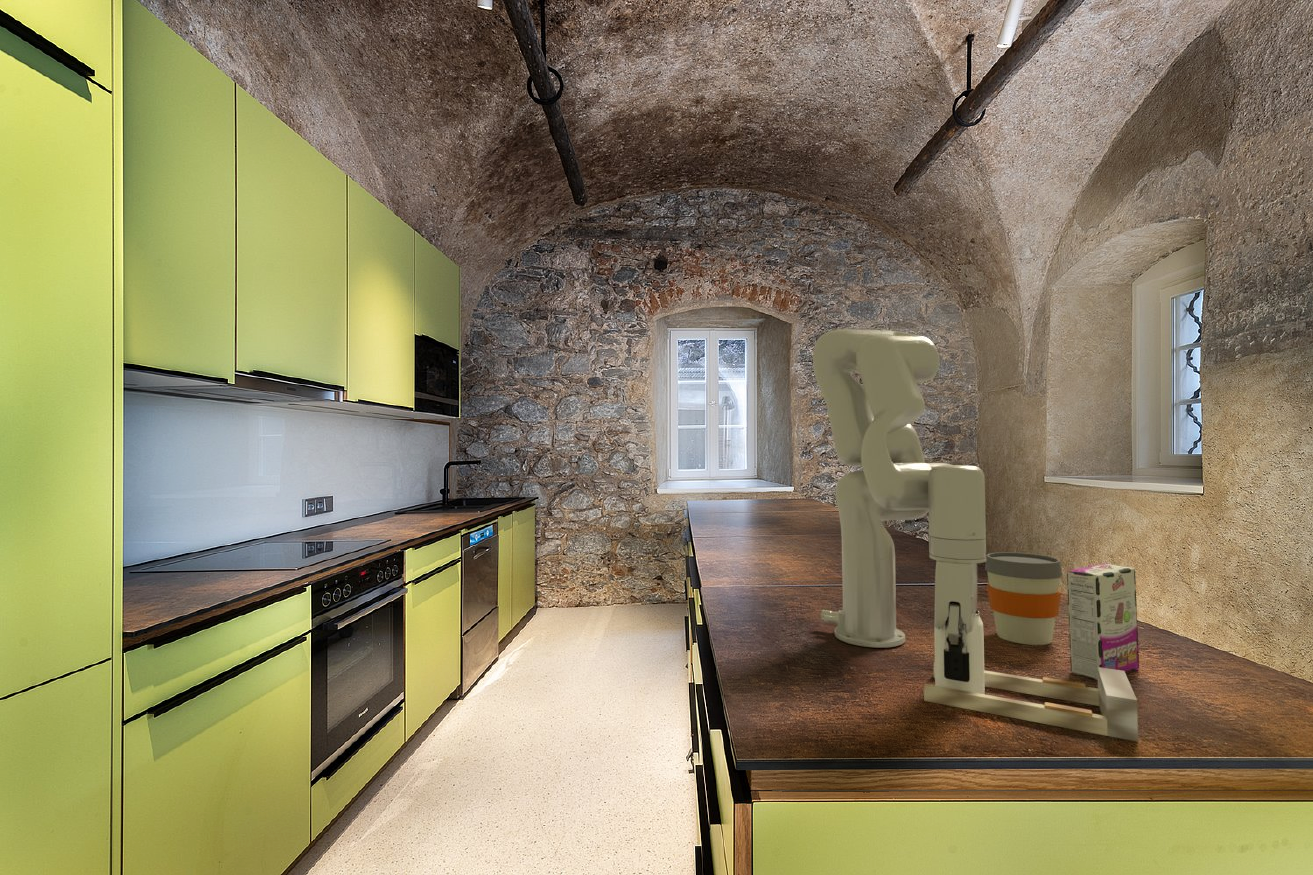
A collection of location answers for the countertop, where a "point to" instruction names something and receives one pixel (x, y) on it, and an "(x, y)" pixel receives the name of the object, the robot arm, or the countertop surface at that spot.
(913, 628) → the countertop surface
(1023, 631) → the reusable coffee cup
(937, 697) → the beige u-shaped frame
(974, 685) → the can
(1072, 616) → the candy bar box
